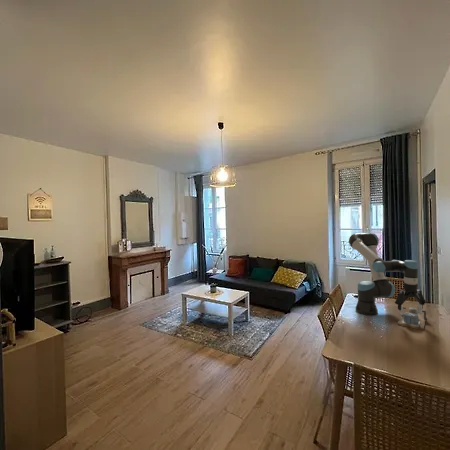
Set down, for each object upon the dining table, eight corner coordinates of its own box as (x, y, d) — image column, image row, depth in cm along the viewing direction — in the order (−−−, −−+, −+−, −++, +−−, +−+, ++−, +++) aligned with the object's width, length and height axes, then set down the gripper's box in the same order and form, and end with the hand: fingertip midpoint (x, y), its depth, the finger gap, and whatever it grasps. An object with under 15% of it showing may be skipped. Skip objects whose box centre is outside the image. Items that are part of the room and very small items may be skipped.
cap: (399, 319, 175) (399, 311, 175) (410, 318, 176) (410, 310, 176) (411, 325, 165) (411, 317, 164) (423, 325, 165) (423, 316, 165)
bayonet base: (397, 324, 171) (397, 314, 171) (402, 313, 191) (402, 303, 191) (424, 330, 162) (423, 319, 162) (426, 317, 181) (426, 308, 181)
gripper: (397, 285, 165) (396, 317, 166) (433, 284, 167) (432, 315, 168) (389, 282, 173) (388, 312, 174) (423, 281, 174) (423, 310, 175)
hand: (410, 314), depth 171 cm, fingers open, 13 cm apart
